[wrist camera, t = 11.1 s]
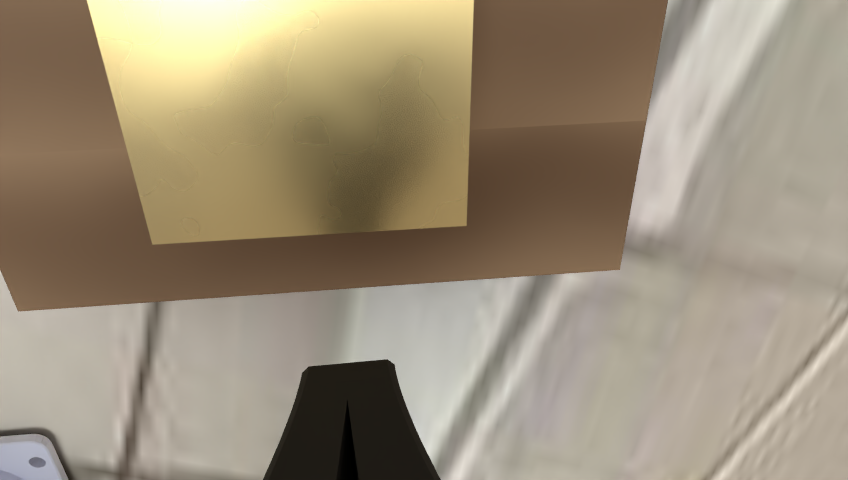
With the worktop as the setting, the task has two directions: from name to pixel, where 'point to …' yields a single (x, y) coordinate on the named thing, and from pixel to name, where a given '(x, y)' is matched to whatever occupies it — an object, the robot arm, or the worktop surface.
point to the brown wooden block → (345, 252)
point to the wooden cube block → (291, 113)
